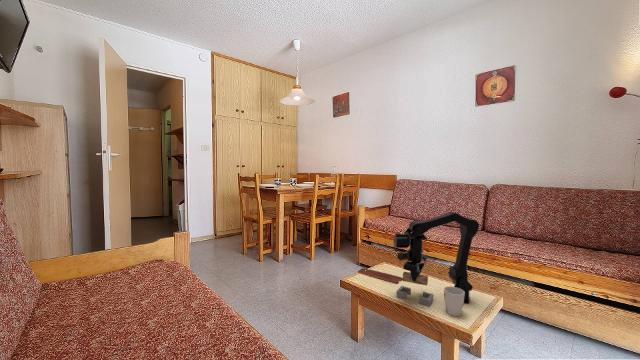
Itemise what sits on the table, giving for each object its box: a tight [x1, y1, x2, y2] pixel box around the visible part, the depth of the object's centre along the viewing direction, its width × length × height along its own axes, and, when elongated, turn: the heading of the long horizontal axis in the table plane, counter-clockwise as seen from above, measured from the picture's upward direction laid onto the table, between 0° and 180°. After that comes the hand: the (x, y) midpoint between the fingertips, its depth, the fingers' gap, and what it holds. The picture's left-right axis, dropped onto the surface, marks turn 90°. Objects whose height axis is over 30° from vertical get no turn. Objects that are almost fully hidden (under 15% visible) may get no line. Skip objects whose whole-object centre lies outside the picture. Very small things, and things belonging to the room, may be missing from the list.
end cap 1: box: [395, 285, 412, 301], centre depth 132 cm, size 5×7×3 cm, turn 144°
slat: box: [402, 271, 429, 286], centre depth 129 cm, size 11×4×4 cm, turn 63°
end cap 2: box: [418, 291, 434, 307], centre depth 126 cm, size 5×7×3 cm, turn 144°
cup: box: [443, 286, 465, 317], centre depth 116 cm, size 8×8×10 cm
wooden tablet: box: [357, 267, 403, 285], centre depth 157 cm, size 27×10×2 cm, turn 51°
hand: (415, 279), depth 129 cm, fingers closed on slat, 4 cm apart
